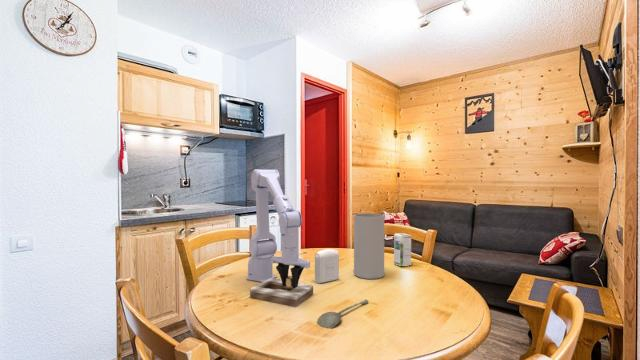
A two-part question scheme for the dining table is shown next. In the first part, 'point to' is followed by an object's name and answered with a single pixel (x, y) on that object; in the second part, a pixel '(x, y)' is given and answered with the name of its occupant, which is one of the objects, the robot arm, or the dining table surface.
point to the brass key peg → (288, 283)
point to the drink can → (402, 249)
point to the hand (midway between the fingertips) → (290, 286)
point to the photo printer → (326, 265)
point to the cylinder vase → (369, 245)
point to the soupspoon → (334, 317)
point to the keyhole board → (278, 299)
